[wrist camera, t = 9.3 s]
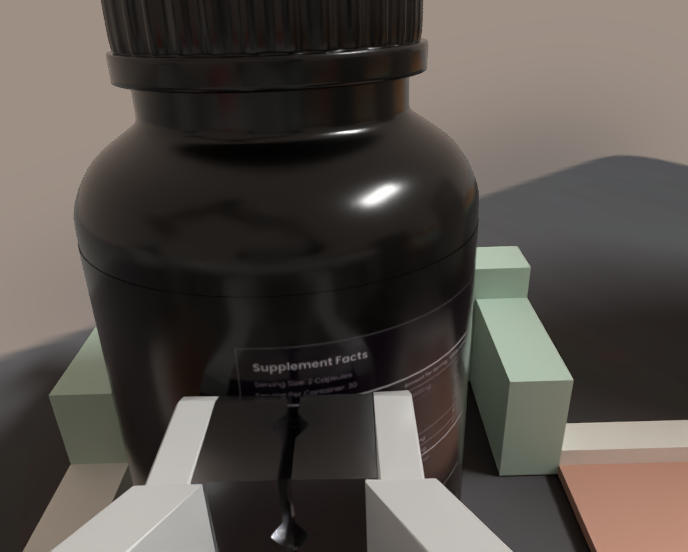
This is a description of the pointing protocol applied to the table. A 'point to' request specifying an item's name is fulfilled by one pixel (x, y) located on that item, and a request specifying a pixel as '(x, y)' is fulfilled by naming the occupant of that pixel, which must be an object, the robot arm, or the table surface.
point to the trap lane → (496, 412)
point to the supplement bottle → (278, 218)
